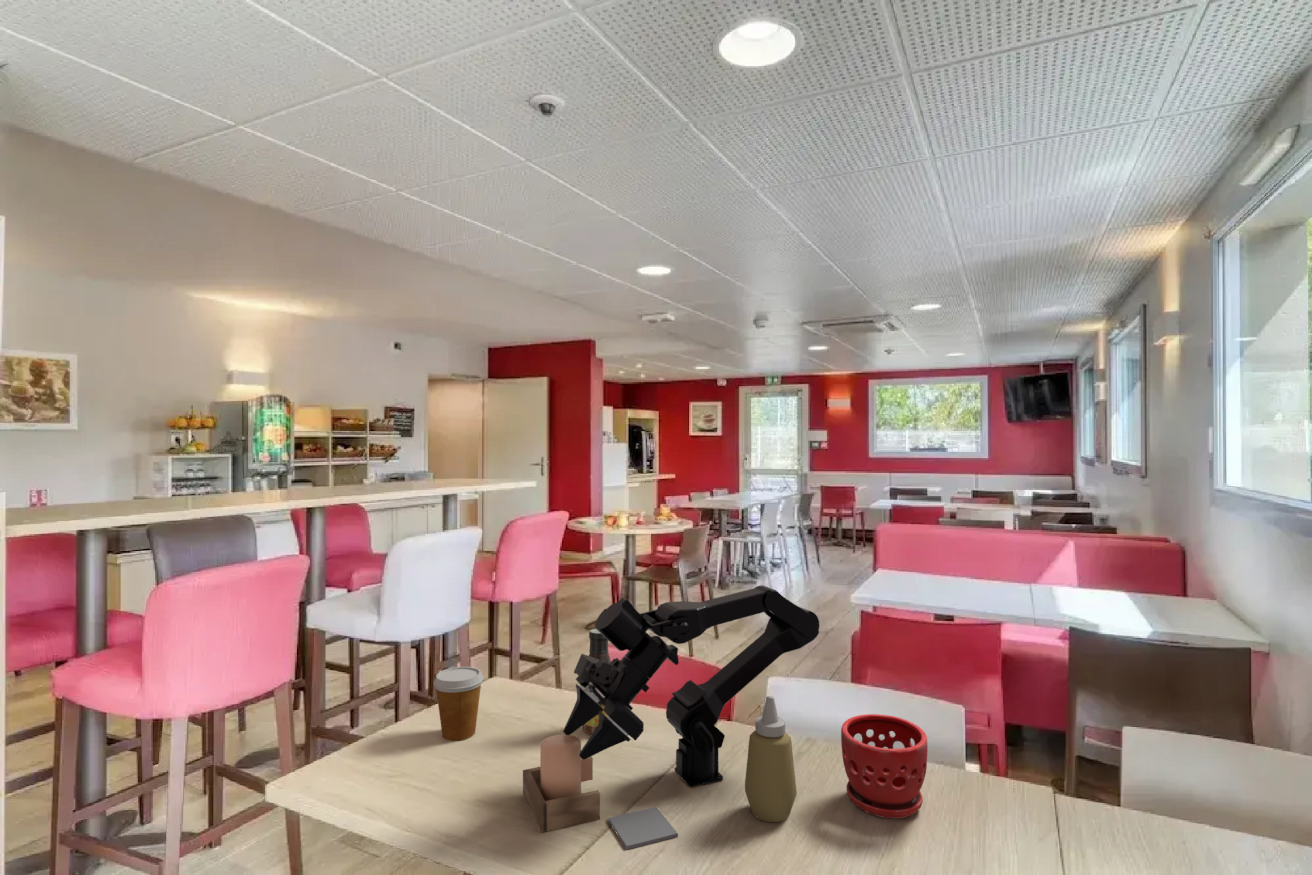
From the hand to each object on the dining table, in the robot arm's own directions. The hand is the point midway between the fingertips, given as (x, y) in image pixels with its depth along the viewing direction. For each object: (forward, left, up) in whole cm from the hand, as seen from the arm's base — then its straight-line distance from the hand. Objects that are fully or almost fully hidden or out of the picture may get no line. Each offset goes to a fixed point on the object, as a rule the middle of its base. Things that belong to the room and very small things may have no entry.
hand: (572, 745), depth 109 cm
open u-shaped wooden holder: (+2, 0, -9) cm, 9 cm away
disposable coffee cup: (+13, -34, -9) cm, 38 cm away
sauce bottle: (-13, -25, -9) cm, 30 cm away
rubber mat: (-8, +11, -9) cm, 16 cm away
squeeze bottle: (-28, +15, -9) cm, 33 cm away
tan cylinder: (+2, 0, -9) cm, 10 cm away
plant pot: (-46, +20, -10) cm, 51 cm away
